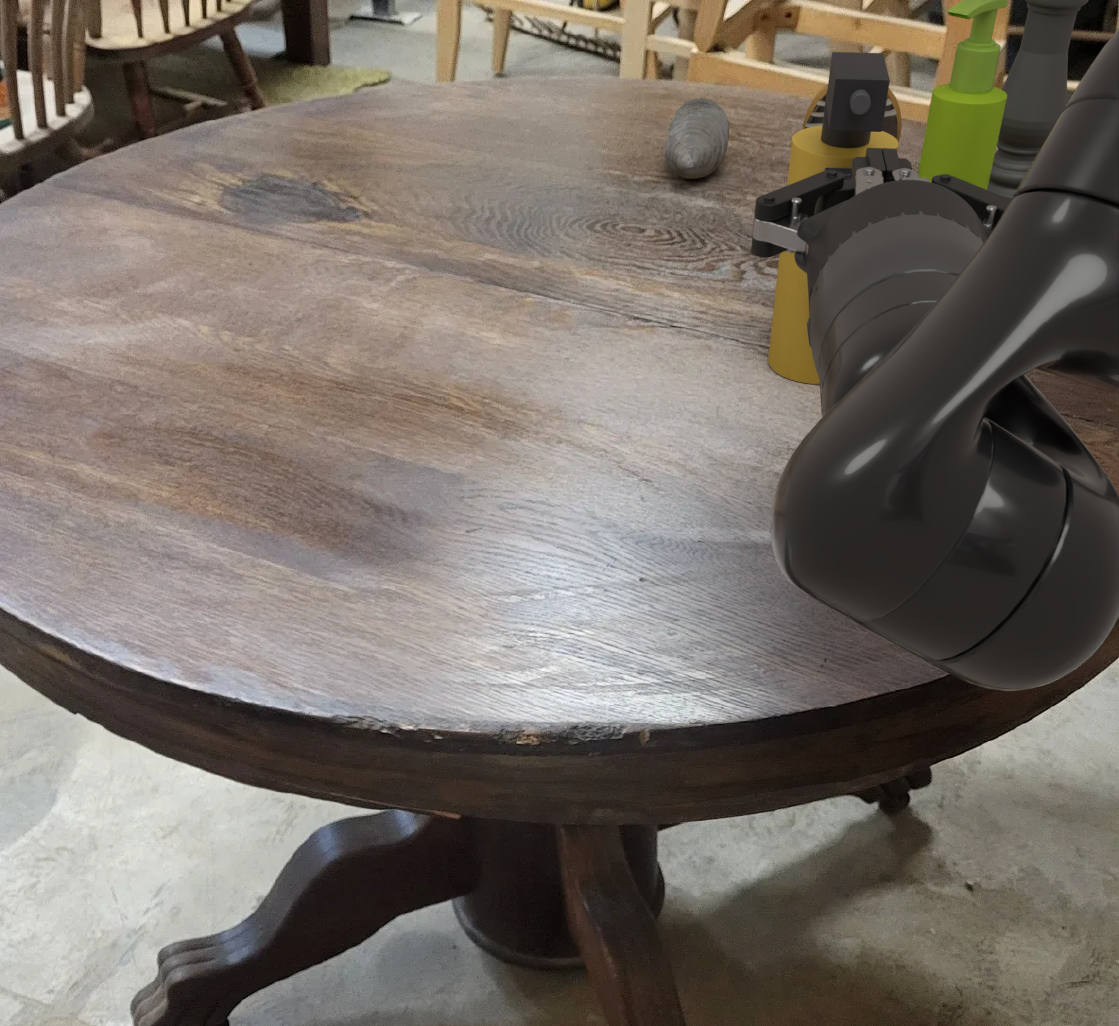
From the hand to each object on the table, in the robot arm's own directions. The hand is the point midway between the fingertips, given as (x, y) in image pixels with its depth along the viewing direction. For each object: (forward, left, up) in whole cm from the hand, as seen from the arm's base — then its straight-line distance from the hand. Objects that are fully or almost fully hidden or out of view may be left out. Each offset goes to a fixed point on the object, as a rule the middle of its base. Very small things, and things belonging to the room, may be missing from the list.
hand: (877, 168), depth 62 cm
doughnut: (-4, -63, -21) cm, 66 cm away
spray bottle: (0, -19, -21) cm, 29 cm away
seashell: (+11, -63, -21) cm, 67 cm away
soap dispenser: (-11, -44, -21) cm, 50 cm away
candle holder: (-18, -52, -21) cm, 59 cm away
